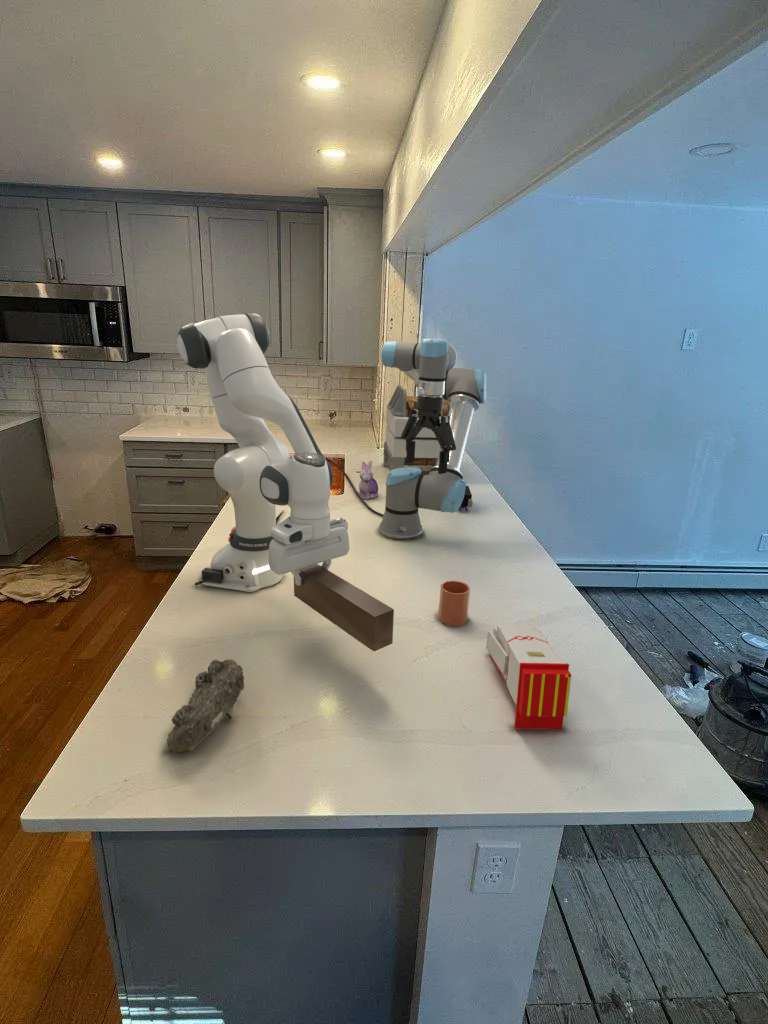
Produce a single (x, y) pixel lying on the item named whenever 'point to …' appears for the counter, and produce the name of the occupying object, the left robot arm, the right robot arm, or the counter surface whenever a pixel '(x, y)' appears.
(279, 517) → the feather
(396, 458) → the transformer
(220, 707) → the fossil
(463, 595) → the terracotta cup
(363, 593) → the walnut bar
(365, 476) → the figurine
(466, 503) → the figurine character
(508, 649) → the toy
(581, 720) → the counter surface
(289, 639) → the counter surface
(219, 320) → the left robot arm
